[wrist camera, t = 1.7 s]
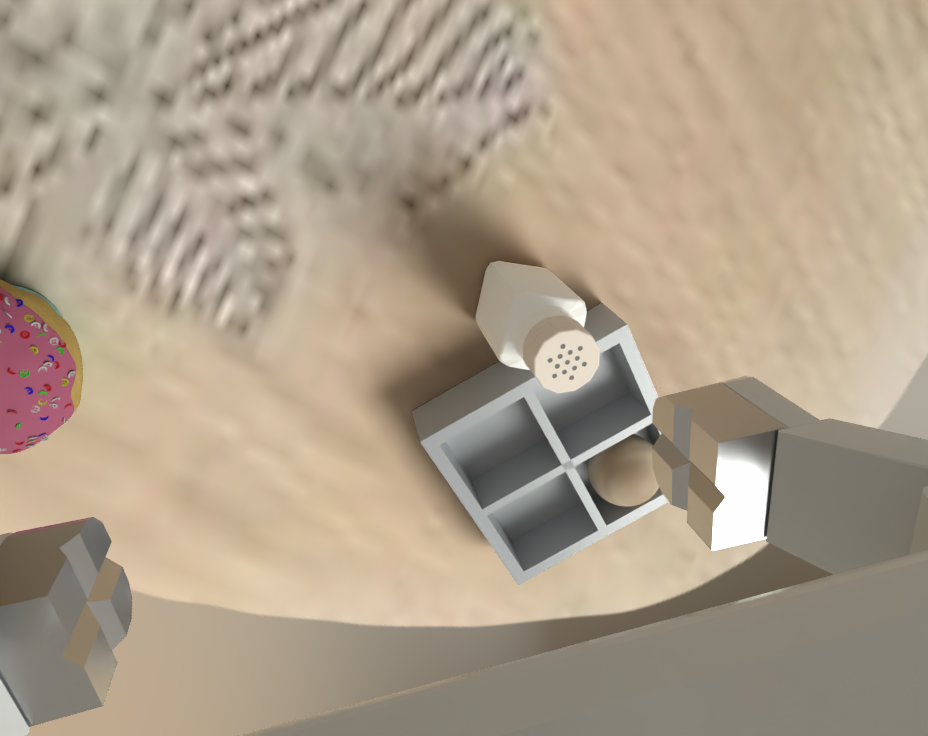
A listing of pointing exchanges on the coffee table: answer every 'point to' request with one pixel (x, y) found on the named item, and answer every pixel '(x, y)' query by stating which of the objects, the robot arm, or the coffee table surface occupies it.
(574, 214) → the coffee table surface
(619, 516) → the grey compartment tray
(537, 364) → the pepper shaker
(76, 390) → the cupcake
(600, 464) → the brown ball
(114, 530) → the coffee table surface
